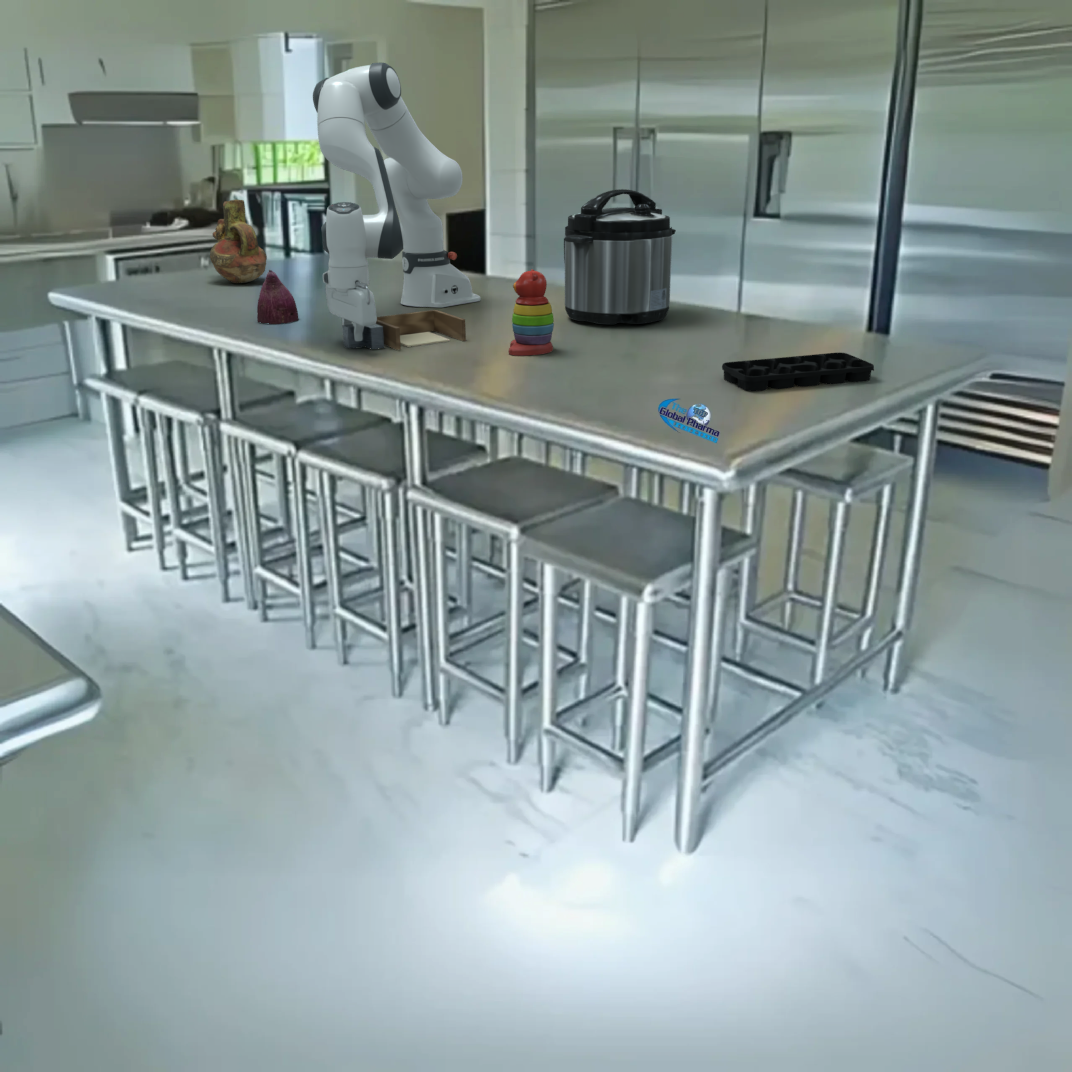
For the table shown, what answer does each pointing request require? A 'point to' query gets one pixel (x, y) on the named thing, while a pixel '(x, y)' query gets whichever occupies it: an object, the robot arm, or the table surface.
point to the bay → (420, 325)
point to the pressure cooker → (618, 261)
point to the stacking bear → (531, 316)
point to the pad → (421, 339)
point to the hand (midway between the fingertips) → (354, 339)
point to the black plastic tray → (797, 371)
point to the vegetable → (275, 302)
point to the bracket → (364, 337)
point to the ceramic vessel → (237, 246)
